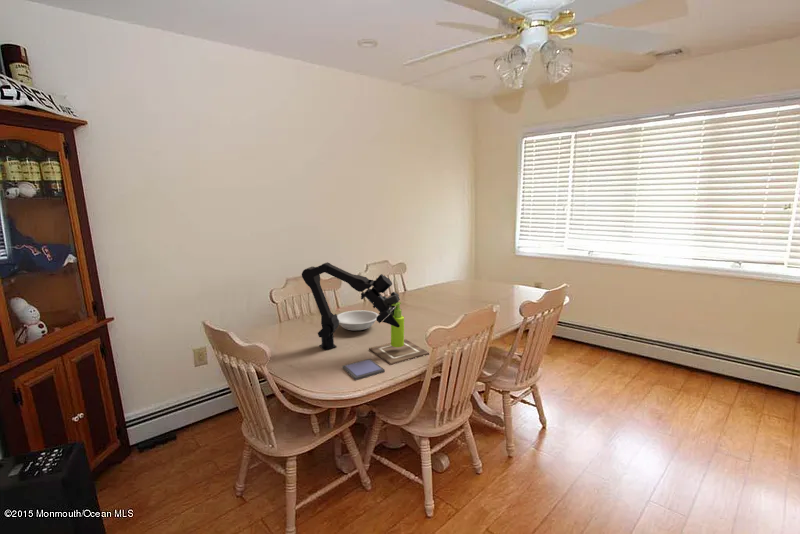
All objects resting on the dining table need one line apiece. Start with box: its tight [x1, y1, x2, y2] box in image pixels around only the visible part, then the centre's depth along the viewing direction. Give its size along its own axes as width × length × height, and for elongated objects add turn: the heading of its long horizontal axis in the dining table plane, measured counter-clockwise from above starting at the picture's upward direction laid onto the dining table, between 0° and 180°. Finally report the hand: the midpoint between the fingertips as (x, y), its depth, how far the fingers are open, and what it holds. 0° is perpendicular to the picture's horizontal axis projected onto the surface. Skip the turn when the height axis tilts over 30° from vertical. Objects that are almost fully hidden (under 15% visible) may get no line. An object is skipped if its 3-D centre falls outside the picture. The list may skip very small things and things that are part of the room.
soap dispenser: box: [390, 301, 405, 347], centre depth 178 cm, size 6×7×20 cm
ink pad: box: [341, 358, 386, 381], centre depth 163 cm, size 13×13×1 cm
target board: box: [368, 338, 430, 365], centre depth 181 cm, size 20×20×1 cm
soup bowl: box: [337, 309, 379, 331], centre depth 213 cm, size 24×24×7 cm
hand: (400, 324), depth 178 cm, fingers closed on soap dispenser, 6 cm apart
